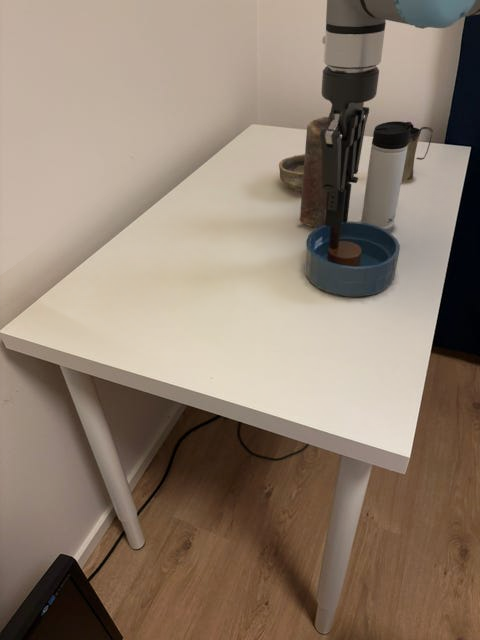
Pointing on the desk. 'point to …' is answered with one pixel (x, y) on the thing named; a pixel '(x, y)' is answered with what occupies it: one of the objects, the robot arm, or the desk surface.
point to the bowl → (292, 171)
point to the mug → (412, 153)
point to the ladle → (343, 250)
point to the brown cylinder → (314, 177)
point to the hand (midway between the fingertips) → (336, 223)
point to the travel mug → (385, 173)
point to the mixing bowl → (350, 280)
